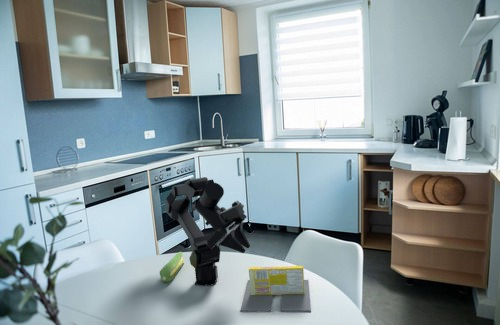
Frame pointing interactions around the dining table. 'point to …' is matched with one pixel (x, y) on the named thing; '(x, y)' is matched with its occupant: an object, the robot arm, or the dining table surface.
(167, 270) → the edible corn
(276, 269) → the candy box
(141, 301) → the dining table surface
